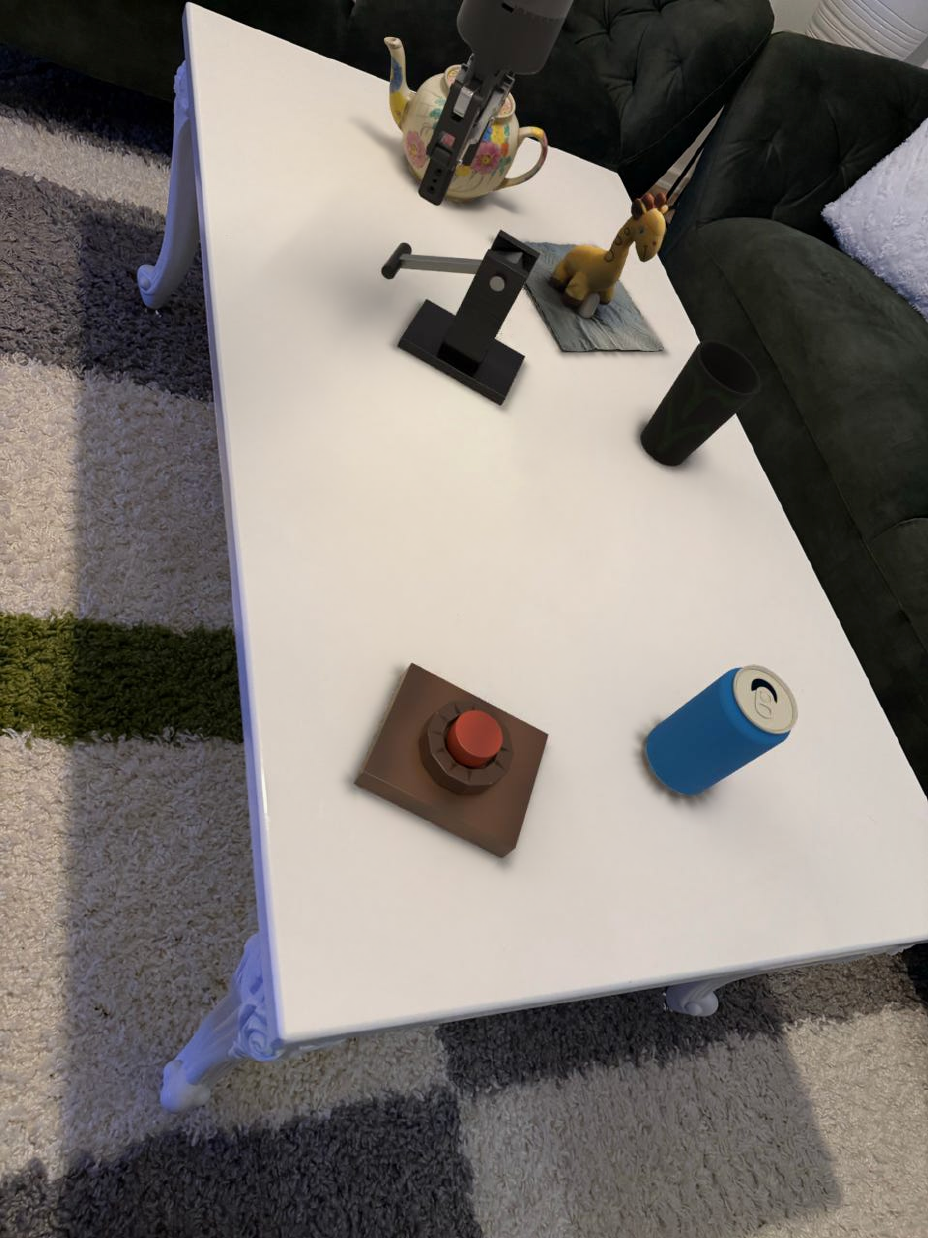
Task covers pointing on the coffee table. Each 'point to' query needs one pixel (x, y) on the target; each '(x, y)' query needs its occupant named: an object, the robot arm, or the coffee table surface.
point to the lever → (437, 262)
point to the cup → (700, 401)
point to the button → (474, 738)
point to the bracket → (475, 325)
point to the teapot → (418, 125)
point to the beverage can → (722, 729)
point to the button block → (452, 763)
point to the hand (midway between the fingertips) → (444, 179)
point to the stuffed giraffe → (598, 285)
